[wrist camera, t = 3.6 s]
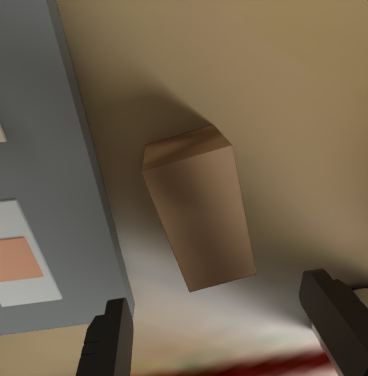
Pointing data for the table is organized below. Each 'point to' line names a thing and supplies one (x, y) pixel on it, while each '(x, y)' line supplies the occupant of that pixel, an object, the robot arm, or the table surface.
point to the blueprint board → (49, 184)
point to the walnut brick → (200, 206)
